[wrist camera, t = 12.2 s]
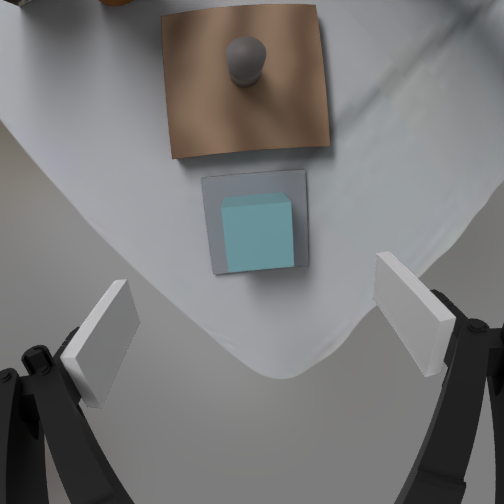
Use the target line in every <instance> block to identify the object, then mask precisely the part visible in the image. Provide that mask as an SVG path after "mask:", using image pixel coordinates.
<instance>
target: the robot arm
mask: <svg viewBox="0 0 504 504" xmlns="http://www.w3.org/2000/svg"><path fill="white" fill-rule="evenodd" d="M373 299H374V301H375V302H376V304H377V305H378V307H379V308H380V309H381V311H382V312H383V314H384V315H385V317H386V318H387V320H388V321H389V322H390V324H391V326H392V327H393V329H394V330H395V331H396V333H397V335H398V336H399V337H400V339H401V340H402V342H403V344H404V345H405V347H406V348H407V350H408V351H409V353H410V354H411V356H412V357H413V359H414V360H415V362H416V364H417V365H418V367H419V368H420V370H421V371H422V373H423V375H424V376H425V377H428V376H431V375H434V374H438V373H440V372H441V369H442V365H443V362H445V364H446V365H447V367H448V370H447V373H446V376H445V378H444V381H443V384H442V390H441V393H440V396H439V399H438V402H437V405H436V408H435V411H434V414H433V417H432V420H431V423H430V425H429V428H428V431H427V433H426V436H425V438H424V441H423V443H422V446H421V448H420V451H419V453H418V455H417V458H416V460H415V462H414V464H413V467H412V469H411V471H410V473H409V475H408V477H407V480H406V482H405V483H404V486H403V488H402V490H401V492H400V494H399V495H398V497H397V499H396V501H395V503H394V504H461V501H462V499H463V496H464V493H465V489H466V482H464V476H465V472H466V469H467V466H468V462H469V459H470V455H471V451H472V448H473V443H474V440H475V435H476V431H477V426H478V421H479V416H480V411H481V407H482V401H483V395H484V388H485V381H486V377H487V382H488V388H489V395H490V402H491V410H492V418H493V429H494V441H495V460H496V461H495V463H496V492H495V504H504V324H503V327H502V328H494V329H493V328H492V329H490V328H489V326H488V325H487V324H486V323H485V322H483V321H481V320H479V319H472V318H471V319H468V318H467V317H466V316H465V315H464V314H463V313H462V312H461V311H460V310H459V309H458V308H457V307H456V306H454V304H453V303H452V302H451V301H449V299H448V298H447V297H446V296H445V295H444V294H442V293H441V292H438V291H437V290H435V289H434V290H429V289H428V288H426V286H425V285H424V284H423V283H422V282H420V280H419V279H418V278H416V277H415V276H414V275H413V274H412V273H411V272H410V271H409V270H408V269H407V268H406V267H405V266H404V265H403V264H402V263H401V262H400V261H399V260H398V259H396V258H395V257H394V256H393V255H392V254H391V253H390V252H389V251H388V252H380V253H376V263H375V279H374V293H373ZM139 324H140V321H139V317H138V314H137V311H136V308H135V304H134V301H133V298H132V294H131V291H130V287H129V284H128V280H127V279H125V280H115V281H114V282H113V283H112V285H111V286H110V287H109V289H108V290H107V291H106V293H105V294H104V295H103V297H102V298H101V299H100V301H99V302H98V303H97V305H96V306H95V307H94V309H93V310H92V312H91V313H90V314H89V316H88V317H87V318H86V320H85V321H84V323H83V324H82V325H81V327H77V328H76V329H74V330H73V331H72V332H71V333H70V334H69V335H68V337H67V338H66V341H64V342H63V344H62V346H61V347H60V348H59V349H58V351H57V352H56V354H55V355H54V357H53V358H52V356H51V354H50V352H49V350H48V348H47V347H46V346H44V345H37V346H34V347H32V348H30V349H28V350H27V351H26V352H25V353H24V354H23V356H22V359H21V361H22V362H23V364H24V366H25V368H26V370H27V371H28V373H29V375H28V376H22V377H20V376H19V375H18V373H17V371H16V370H15V369H13V368H7V369H5V370H2V371H0V504H49V500H48V491H47V480H46V467H45V446H44V445H45V444H44V433H45V436H46V440H47V443H48V446H49V449H50V452H51V455H52V458H53V460H54V463H55V466H56V469H57V471H58V474H59V477H60V479H61V482H62V484H63V486H64V489H65V491H66V493H67V496H68V498H69V500H70V502H71V504H134V502H133V501H132V499H131V498H130V496H129V495H128V493H127V492H126V490H125V489H124V487H123V485H122V484H121V482H120V481H119V479H118V477H117V476H116V474H115V473H114V471H113V469H112V467H111V466H110V464H109V462H108V460H107V459H106V457H105V455H104V453H103V451H102V450H101V448H100V446H99V444H98V442H97V440H96V438H95V436H94V434H93V432H92V430H91V428H90V426H89V424H88V422H87V420H86V418H85V416H84V414H83V411H82V409H81V408H80V406H79V404H78V403H79V401H80V399H81V398H82V399H83V401H84V403H85V404H86V406H87V407H92V408H102V407H103V405H104V403H105V400H106V398H107V395H108V393H109V391H110V388H111V386H112V384H113V381H114V379H115V377H116V375H117V372H118V370H119V368H120V365H121V363H122V361H123V359H124V356H125V354H126V352H127V350H128V348H129V346H130V343H131V341H132V339H133V337H134V335H135V333H136V331H137V328H138V326H139Z"/></svg>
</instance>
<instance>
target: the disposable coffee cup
mask: <svg viewBox="0 0 504 504" xmlns="http://www.w3.org/2000/svg"><path fill="white" fill-rule="evenodd" d="M99 1H100V2H102V3H104V4H106V5H109V6H120V5H124V4H127V3H129V2H131V1H133V0H99Z"/></svg>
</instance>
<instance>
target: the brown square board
mask: <svg viewBox="0 0 504 504" xmlns="http://www.w3.org/2000/svg"><path fill="white" fill-rule="evenodd" d="M161 25H162V47H163V64H164V78H165V91H166V103H167V114H168V125H169V135H170V144H171V153H172V159H178V158H186V157H193V156H202V155H210V154H219V153H229V152H239V151H251V150H264V149H278V148H296V147H320V146H330V136H329V121H328V107H327V95H326V84H325V74H324V65H323V56H322V47H321V39H320V32H319V24H318V17H317V11H316V5H308V4H260V5H242V6H229V7H219V8H210V9H202V10H195V11H188V12H182V13H176V14H171V15H166V16H161Z"/></svg>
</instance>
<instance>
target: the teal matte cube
mask: <svg viewBox="0 0 504 504" xmlns="http://www.w3.org/2000/svg"><path fill="white" fill-rule="evenodd" d="M221 212H222V221H223V230H224V239H225V247H226V256H227V264H228V272H239V271H250V270H261V269H272V268H282V267H293V266H294V253H293V229H292V209H291V201H290V200H289V198H288V197H287V196H286V194H285V193H284V192H283V193H270V194H258V195H247V196H236V197H226V198H224V199H223V203H222V206H221Z"/></svg>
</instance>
